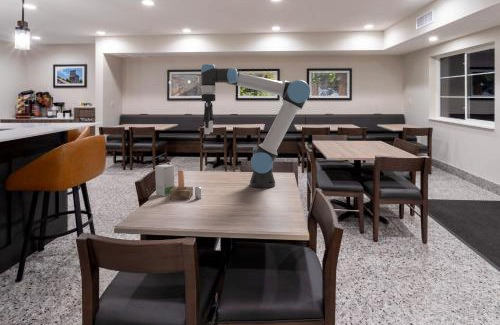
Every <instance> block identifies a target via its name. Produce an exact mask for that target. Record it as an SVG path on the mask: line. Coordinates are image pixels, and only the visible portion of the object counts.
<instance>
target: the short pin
mask: <svg viewBox="0 0 500 325" xmlns="http://www.w3.org/2000/svg"><path fill="white" fill-rule="evenodd" d="M194 199H195V200H197V201H198V200H202V187H201V186H195V187H194Z"/></svg>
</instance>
